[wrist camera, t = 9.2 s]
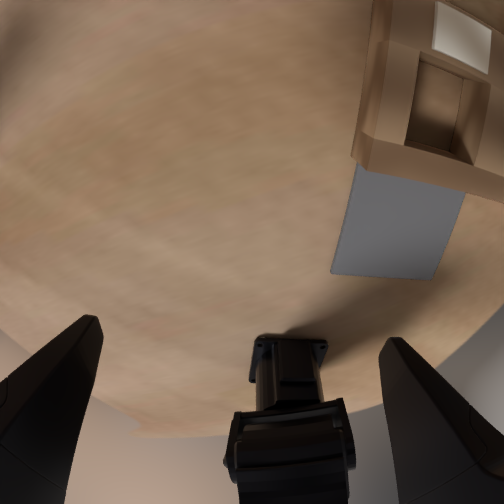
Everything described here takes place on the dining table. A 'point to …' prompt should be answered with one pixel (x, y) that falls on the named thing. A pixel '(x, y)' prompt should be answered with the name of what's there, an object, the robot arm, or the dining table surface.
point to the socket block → (402, 90)
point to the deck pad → (395, 227)
